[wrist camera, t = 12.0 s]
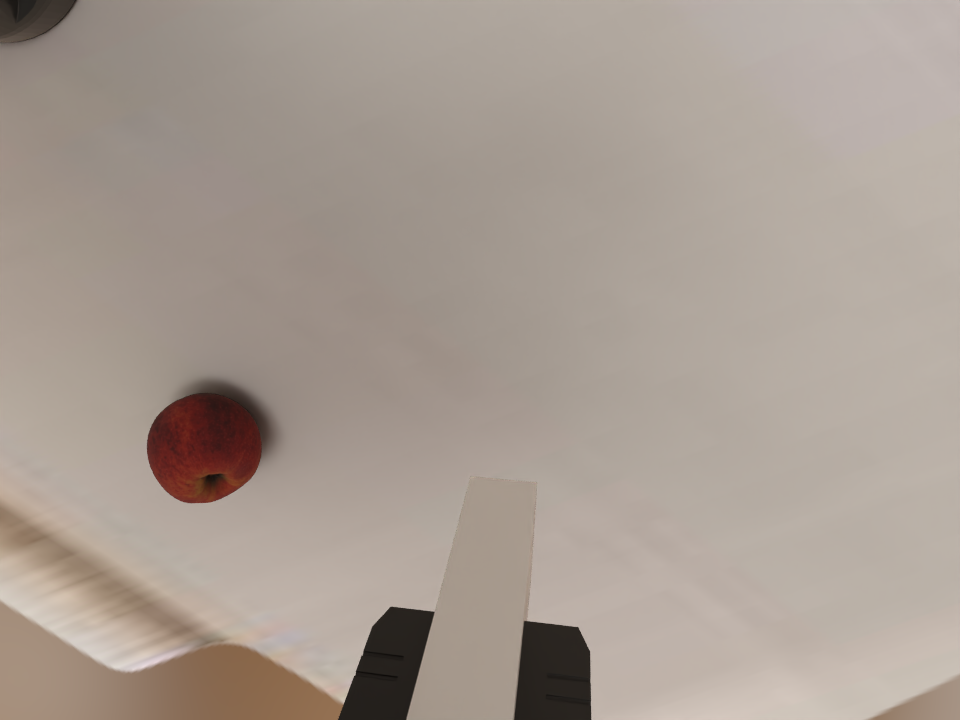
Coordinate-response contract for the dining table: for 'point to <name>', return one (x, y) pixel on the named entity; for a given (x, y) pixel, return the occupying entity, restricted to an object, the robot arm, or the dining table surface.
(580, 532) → the dining table surface
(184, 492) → the apple
